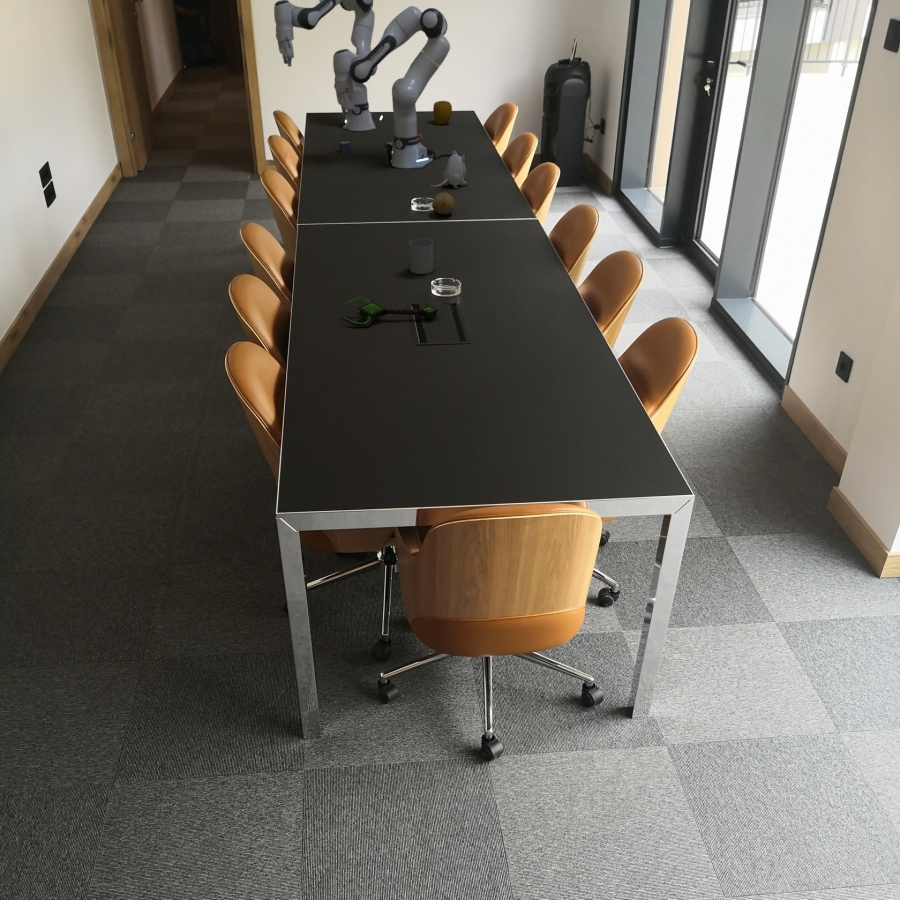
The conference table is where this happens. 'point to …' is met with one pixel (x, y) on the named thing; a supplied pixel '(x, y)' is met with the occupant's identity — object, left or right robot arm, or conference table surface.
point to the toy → (454, 171)
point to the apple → (442, 112)
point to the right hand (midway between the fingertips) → (347, 117)
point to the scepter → (384, 311)
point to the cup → (421, 256)
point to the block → (344, 146)
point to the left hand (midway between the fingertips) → (287, 65)
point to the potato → (443, 203)
